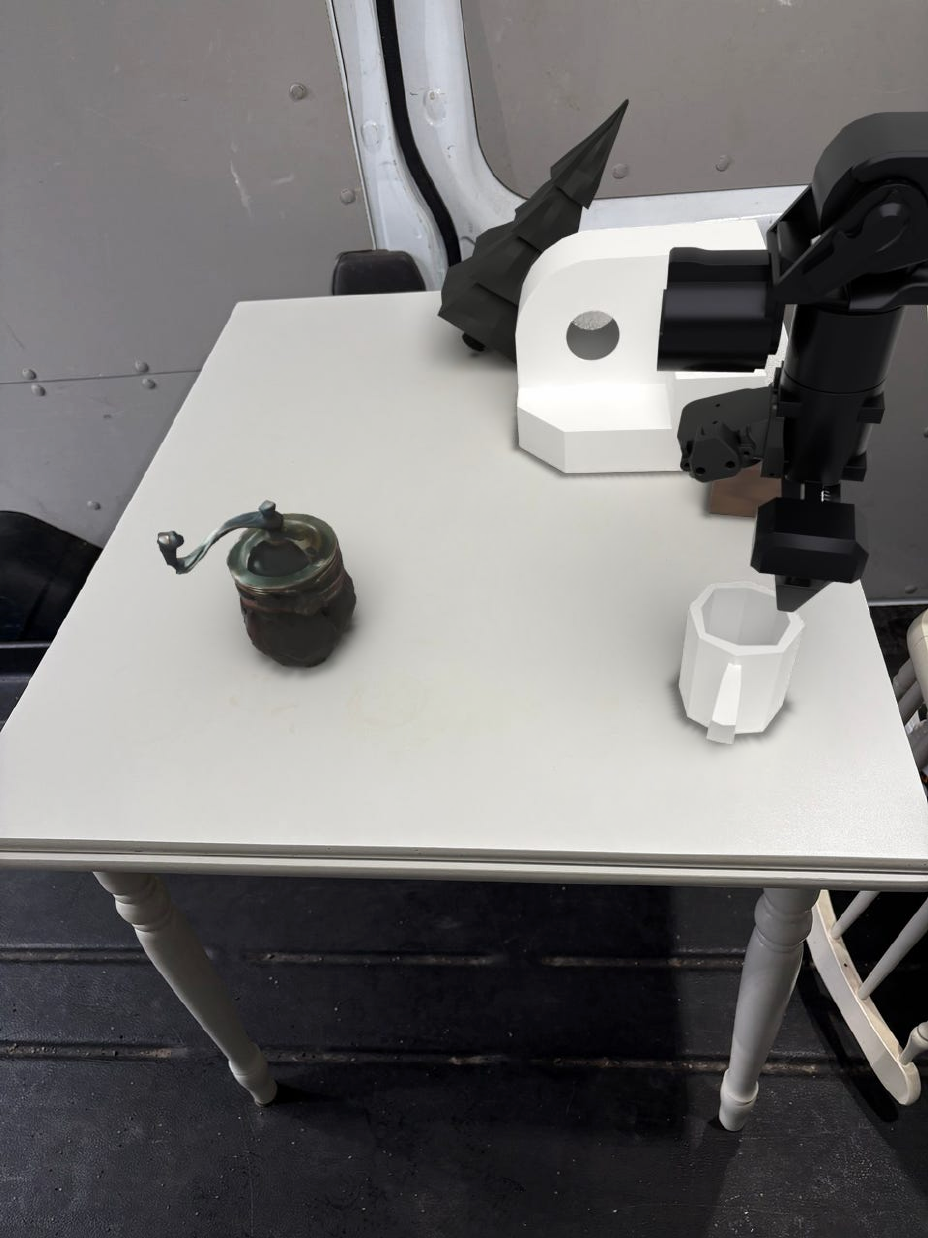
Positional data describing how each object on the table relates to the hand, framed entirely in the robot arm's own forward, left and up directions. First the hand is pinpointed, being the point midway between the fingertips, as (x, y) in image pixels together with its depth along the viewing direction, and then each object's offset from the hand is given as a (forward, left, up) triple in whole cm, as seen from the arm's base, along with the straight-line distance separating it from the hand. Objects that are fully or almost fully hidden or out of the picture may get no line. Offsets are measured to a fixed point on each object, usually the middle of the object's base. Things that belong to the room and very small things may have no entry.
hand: (787, 565), depth 60 cm
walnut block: (+2, -28, -15) cm, 32 cm away
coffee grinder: (+42, +2, -16) cm, 45 cm away
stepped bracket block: (+16, -39, -16) cm, 45 cm away
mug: (+2, +2, -16) cm, 16 cm away
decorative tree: (+32, -58, -16) cm, 68 cm away
